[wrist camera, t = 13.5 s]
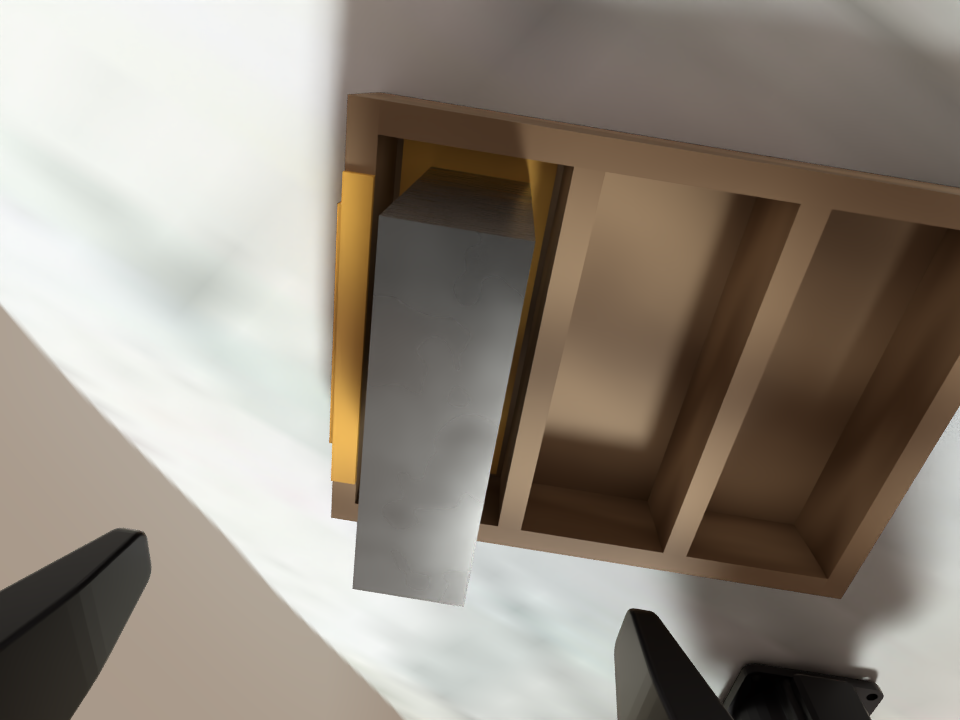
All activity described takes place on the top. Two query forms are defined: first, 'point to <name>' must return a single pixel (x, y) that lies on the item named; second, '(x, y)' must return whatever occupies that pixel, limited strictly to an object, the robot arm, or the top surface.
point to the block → (438, 377)
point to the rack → (680, 343)
